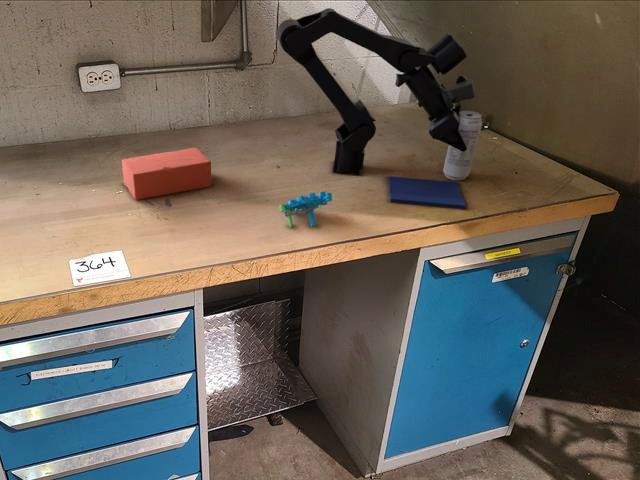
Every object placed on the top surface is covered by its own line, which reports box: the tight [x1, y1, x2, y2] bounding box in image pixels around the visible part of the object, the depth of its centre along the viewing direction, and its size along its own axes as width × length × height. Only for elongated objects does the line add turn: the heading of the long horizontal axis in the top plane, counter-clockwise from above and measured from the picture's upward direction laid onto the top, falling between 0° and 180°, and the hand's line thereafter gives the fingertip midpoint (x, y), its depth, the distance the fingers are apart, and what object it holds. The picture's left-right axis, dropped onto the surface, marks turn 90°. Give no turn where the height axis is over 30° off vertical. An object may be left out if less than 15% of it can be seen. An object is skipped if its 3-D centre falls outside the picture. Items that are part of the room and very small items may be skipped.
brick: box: [121, 147, 212, 201], centre depth 135 cm, size 18×9×6 cm, turn 116°
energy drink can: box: [442, 110, 483, 181], centre depth 140 cm, size 6×6×15 cm
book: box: [388, 175, 467, 210], centre depth 136 cm, size 16×13×1 cm
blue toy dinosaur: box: [279, 191, 333, 228], centre depth 122 cm, size 11×6×10 cm
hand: (465, 143), depth 139 cm, fingers open, 9 cm apart
